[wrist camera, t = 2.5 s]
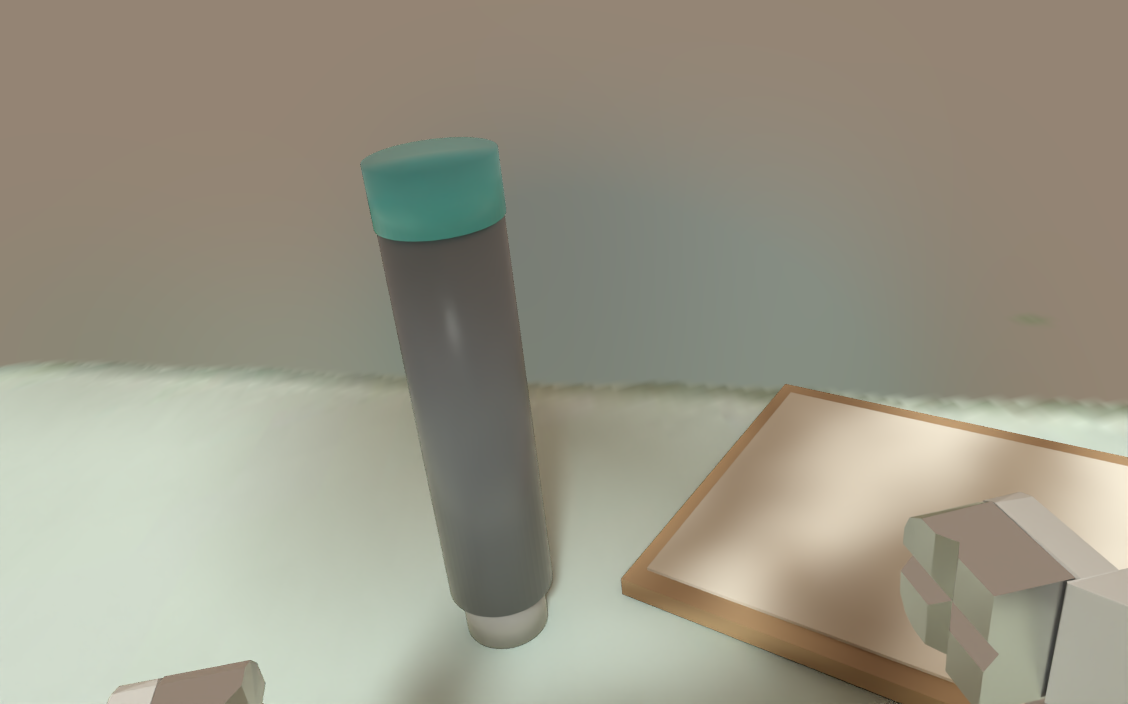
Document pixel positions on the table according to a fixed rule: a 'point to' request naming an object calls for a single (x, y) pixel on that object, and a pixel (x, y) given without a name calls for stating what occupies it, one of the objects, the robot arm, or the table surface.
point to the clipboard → (854, 531)
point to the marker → (466, 374)
